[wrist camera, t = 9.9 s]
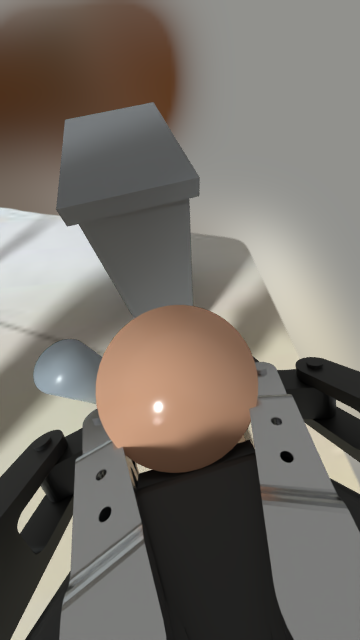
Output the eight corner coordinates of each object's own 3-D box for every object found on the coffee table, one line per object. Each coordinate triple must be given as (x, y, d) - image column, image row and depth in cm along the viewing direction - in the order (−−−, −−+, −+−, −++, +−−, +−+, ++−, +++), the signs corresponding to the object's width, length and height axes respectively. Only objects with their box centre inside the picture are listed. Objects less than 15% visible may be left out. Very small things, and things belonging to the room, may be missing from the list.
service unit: (145, 346, 28) (56, 209, 10) (132, 276, 35) (65, 119, 17) (197, 332, 29) (199, 177, 11) (175, 265, 35) (153, 102, 18)
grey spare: (89, 409, 25) (30, 401, 16) (88, 372, 27) (36, 346, 18) (127, 399, 25) (89, 385, 16) (123, 362, 27) (88, 333, 19)
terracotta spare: (164, 451, 13) (99, 500, 5) (151, 380, 16) (92, 324, 7) (232, 431, 14) (292, 440, 5) (209, 364, 16) (222, 290, 7)
